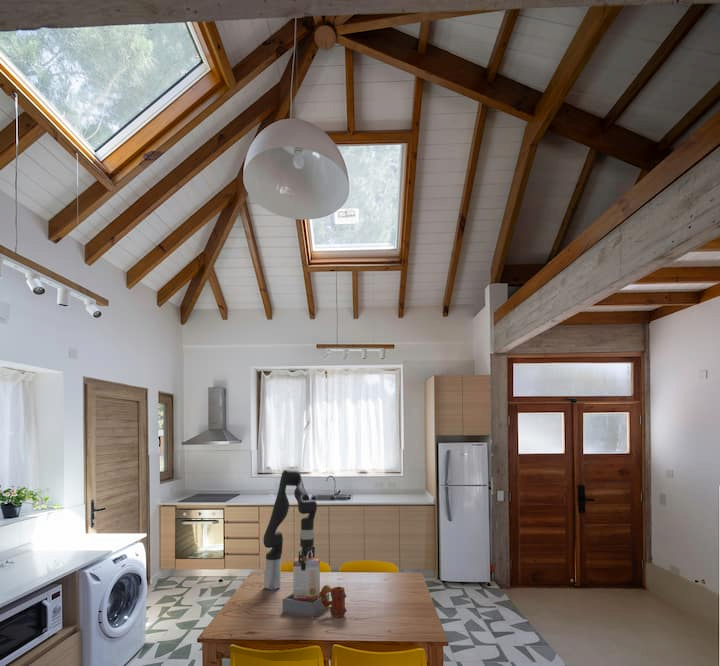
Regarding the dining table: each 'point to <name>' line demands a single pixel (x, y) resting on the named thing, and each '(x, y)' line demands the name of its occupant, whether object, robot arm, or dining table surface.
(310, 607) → the bin
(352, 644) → the dining table surface
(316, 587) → the cracker box
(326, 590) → the mug
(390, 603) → the dining table surface
